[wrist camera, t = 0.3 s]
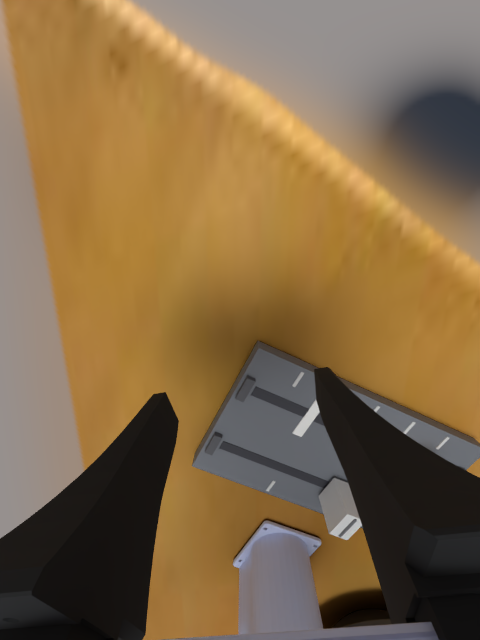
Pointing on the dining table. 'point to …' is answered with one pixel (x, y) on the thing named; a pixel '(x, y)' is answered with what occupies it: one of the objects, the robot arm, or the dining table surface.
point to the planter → (365, 618)
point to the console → (300, 431)
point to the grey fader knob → (339, 509)
